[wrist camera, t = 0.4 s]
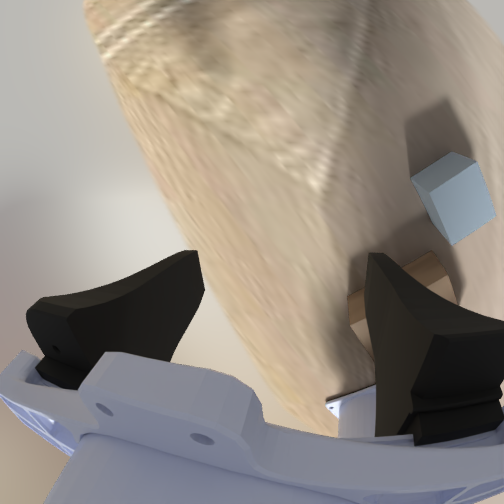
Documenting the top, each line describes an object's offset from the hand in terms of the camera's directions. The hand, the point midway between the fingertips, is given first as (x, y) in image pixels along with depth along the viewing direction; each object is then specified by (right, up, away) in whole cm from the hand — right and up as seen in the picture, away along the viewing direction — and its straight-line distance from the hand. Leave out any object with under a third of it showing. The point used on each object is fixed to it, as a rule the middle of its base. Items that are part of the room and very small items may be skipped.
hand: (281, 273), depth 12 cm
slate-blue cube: (+13, +5, +6) cm, 15 cm away
